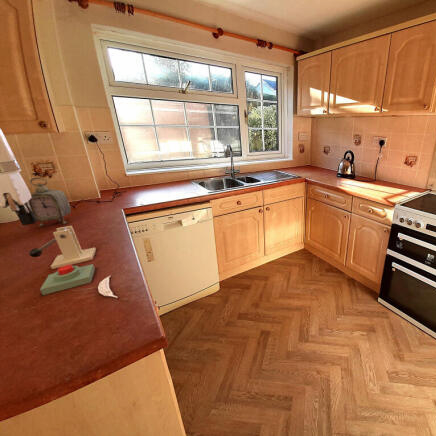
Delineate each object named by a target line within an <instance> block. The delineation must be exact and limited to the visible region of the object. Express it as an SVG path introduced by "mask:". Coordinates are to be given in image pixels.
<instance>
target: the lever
mask: <svg viewBox="0 0 436 436" xmlns="http://www.w3.org/2000/svg"><path fill="white" fill-rule="evenodd" d="M64 230H68V229H67V228H65V229H64ZM70 232H71V231H70ZM71 233H72V232H71ZM54 243H57V241H56V239H55V237H54V238H52V239H51V240H49V241H48V242H47V243H44V244H43V245H42V246H40V247H39V248H38V247H37V248H35V247H34V248H32V249H30V251H29V252H28V253H29V256H30V257H32V258H38V257H41V256H42V254H43V251H44V250H45V249H47V248H49V247H50V246H52V245H53V244H54Z"/></svg>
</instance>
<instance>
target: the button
mask: <svg viewBox="0 0 436 436" xmlns="http://www.w3.org/2000/svg"><path fill="white" fill-rule="evenodd" d="M72 266H73V264H71V265H65V266H62V267H59V268H57V271H58V272H59V274H60V275H65V274H68V273H70V272H72V271H73V270H74V269H73V267H72Z"/></svg>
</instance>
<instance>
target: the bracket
mask: <svg viewBox="0 0 436 436" xmlns="http://www.w3.org/2000/svg"><path fill="white" fill-rule="evenodd" d="M65 228H67V229H68V230H64V229H65ZM70 231H71V232H72V233H71V232H70ZM52 234H53V236H54V238H55V239H56V244H57V245H58V247H59V251H60V252H61V254H58V255H57V256H56V257H55V259H54V260H53V262H52V263H51V265H50V268H51V270H55V269H59V268H60V267H62V266H65V265H76V264H80V263H84V262H88V261H91V260H93V259H94V257H95V254H96V251H97V249H96V247H90V248H86V249H82V247H81V244H80V242H79V239H78V237H77V234H76V233H75V230H74V227H73V226H72V225H67V226H62V227H57V228H56V231H53V232H52Z"/></svg>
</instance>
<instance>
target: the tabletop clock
mask: <svg viewBox="0 0 436 436" xmlns="http://www.w3.org/2000/svg"><path fill="white" fill-rule="evenodd" d="M34 180H42V181H45V183H43V184H42V183H41V182H38V183H37V184H34V183H33V181H34ZM29 183H30V184H31V185H32V186H34V187H36V188H35V192H33V193H30V194H31V199H30V200H29V205H30V207H31V211H32V212H33V214H34V216H35V218H36V220H37V222H41V223H39V227H42V228H43V227H44V223H45V222H51V221H56V222H57V223H61V222H62V224H63V225H67V224H68V221H65V219H64V218H65V217H66V216H68V215H69V214H71V210H72V209H71V205H70V202H69V200H68V198H67V196H66V194H65V193H64V191H63V190H59V189H50V188H48V187H47V186H46V185H47V184H48V181H47V179H45V178H43V177H33V178H31V179H30V181H29Z"/></svg>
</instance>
